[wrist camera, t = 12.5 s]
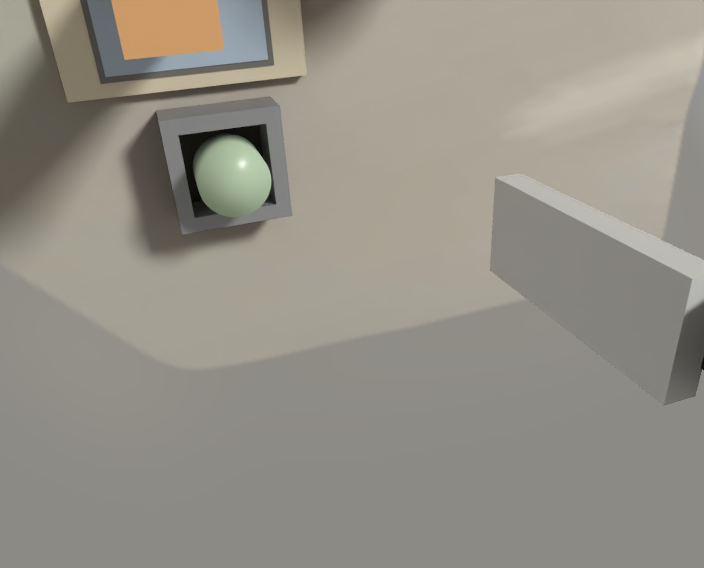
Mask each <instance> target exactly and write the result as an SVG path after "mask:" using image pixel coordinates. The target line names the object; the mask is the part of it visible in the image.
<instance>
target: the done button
mask: <svg viewBox="0 0 704 568" xmlns="http://www.w3.org/2000/svg"><path fill="white" fill-rule="evenodd" d="M193 173H194V177H195V180H196V183H197V187H198V190H199V193H200V196H201V198H202V200H203V201H204V203H205V204H206V205H207V206H208V207H209V208H210V209H211V210H213V211H214V212H216V213H218V214H220V215H223V216H227V217H241V216H245V215H248V214H250V213H252V212H254V211H256V210H257V209H258V208H259V207H261V206H262V204H263V203H264V202H265V200H266V199H267V197H268V195H269V192H270V189H271V174H270V171H269V168H268V166H267V164H266V162H265V161H264V160H263V158H262V157H261V155H260V154H259V152H258V151H257V149H256V148H255V146H254V145H253V144H252V143H251V142H250V141H248V140H247V139H245V138H244V137H242V136H239V135H236V134H231V133H224V134H218V135H215V136H212V137H210V138H209V139H207V140H206V141H205V142H203V143H202V144H201V146H200V147H199V148H198V150H197V151H196V154H195V156H194V160H193Z"/></svg>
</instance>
